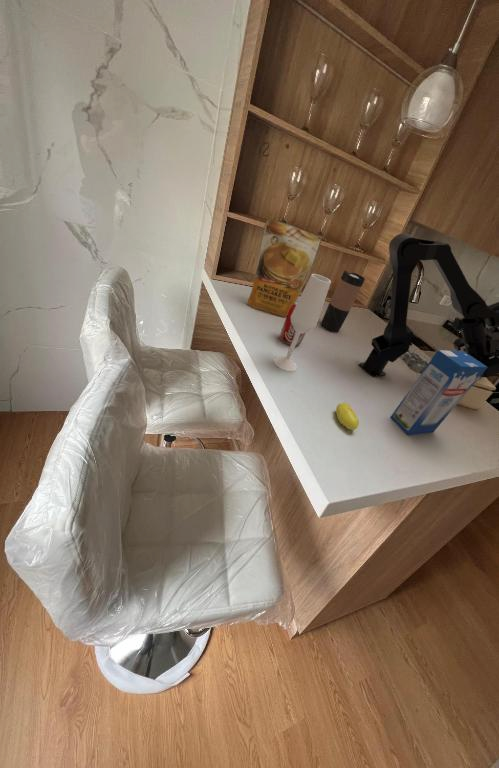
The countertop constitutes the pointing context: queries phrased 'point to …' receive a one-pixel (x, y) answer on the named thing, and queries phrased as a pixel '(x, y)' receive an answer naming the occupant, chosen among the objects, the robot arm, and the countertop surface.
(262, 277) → the pancake mix bag
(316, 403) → the countertop surface
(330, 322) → the travel mug
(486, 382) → the lid
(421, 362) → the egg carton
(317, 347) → the countertop surface
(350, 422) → the lemon
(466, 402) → the cardboard box
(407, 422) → the milk carton
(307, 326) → the champagne flute
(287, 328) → the soda can
